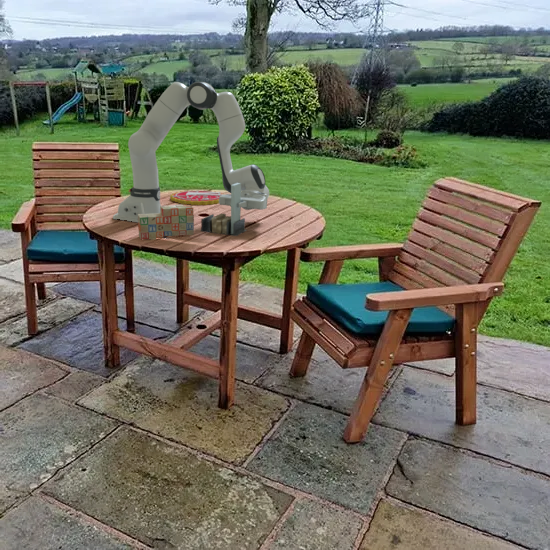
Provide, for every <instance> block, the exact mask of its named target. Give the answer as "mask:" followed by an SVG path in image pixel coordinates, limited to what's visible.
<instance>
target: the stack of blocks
mask: <svg viewBox="0 0 550 550" xmlns="http://www.w3.org/2000/svg"><path fill="white" fill-rule="evenodd" d="M194 222H195V215H194V207H193V205H185V204H173V205H172V204H171V205H170V204H169V205H161V206H160V213H155V214H138V222H137V229H138V230H137V231H138V237H139V239H140V240H141V241H143V240H142V239H148V240H149V239H151V240H157V239H156V238H166V239H168V237H171V236H172V237H173V236H186V235H188V236H189V235H194V234H195V225H194V224H195V223H194Z"/></svg>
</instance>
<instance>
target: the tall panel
mask: <svg viewBox="0 0 550 550" xmlns="http://www.w3.org/2000/svg"><path fill="white" fill-rule="evenodd" d="M230 194H231V207H230V216H231V234H233V223H235V222H237V221H239V220H241V209H242V207H241V208H238V207H237V203H241V183H236V184H233V185H231V193H230Z"/></svg>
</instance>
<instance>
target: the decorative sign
mask: <svg viewBox="0 0 550 550" xmlns="http://www.w3.org/2000/svg"><path fill="white" fill-rule="evenodd" d="M222 195H226V194H225V193H221V191H212V190H205V189H204V190H199V189H196V190H184V191H178V192H174V193H172V194H170V196H169V200H170V199H171V200H170V201H171V202H173V201H175V202H178V203H177V204H179V203H181V204H180V205H185V204H191V206H207V205H211V206H212V205H218V204H219V196H222ZM175 202H174V203H175ZM219 205H220V204H219Z"/></svg>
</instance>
